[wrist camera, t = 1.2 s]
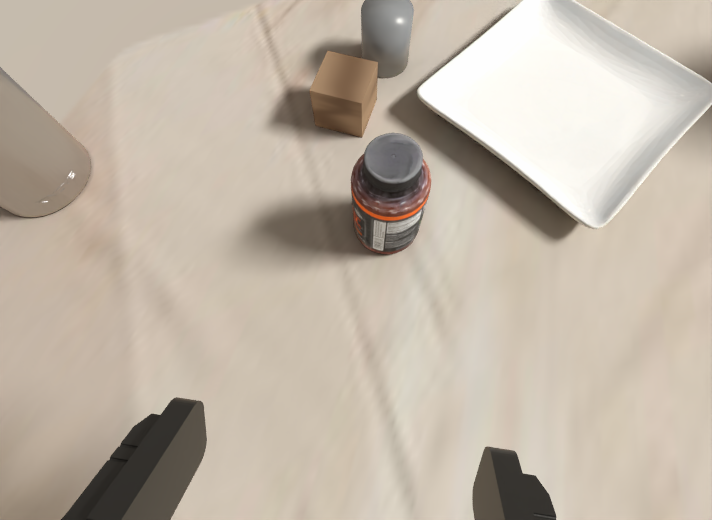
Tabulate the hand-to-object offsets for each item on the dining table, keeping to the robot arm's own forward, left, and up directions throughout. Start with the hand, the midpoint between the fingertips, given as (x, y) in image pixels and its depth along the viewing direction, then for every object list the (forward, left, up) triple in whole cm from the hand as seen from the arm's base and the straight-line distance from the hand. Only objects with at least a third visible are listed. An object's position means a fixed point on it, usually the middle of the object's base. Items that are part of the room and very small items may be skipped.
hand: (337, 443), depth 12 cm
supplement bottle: (-8, +15, -22) cm, 28 cm away
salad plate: (-2, +36, -23) cm, 43 cm away
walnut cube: (-19, +23, -22) cm, 37 cm away
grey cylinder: (-20, +31, -22) cm, 43 cm away
